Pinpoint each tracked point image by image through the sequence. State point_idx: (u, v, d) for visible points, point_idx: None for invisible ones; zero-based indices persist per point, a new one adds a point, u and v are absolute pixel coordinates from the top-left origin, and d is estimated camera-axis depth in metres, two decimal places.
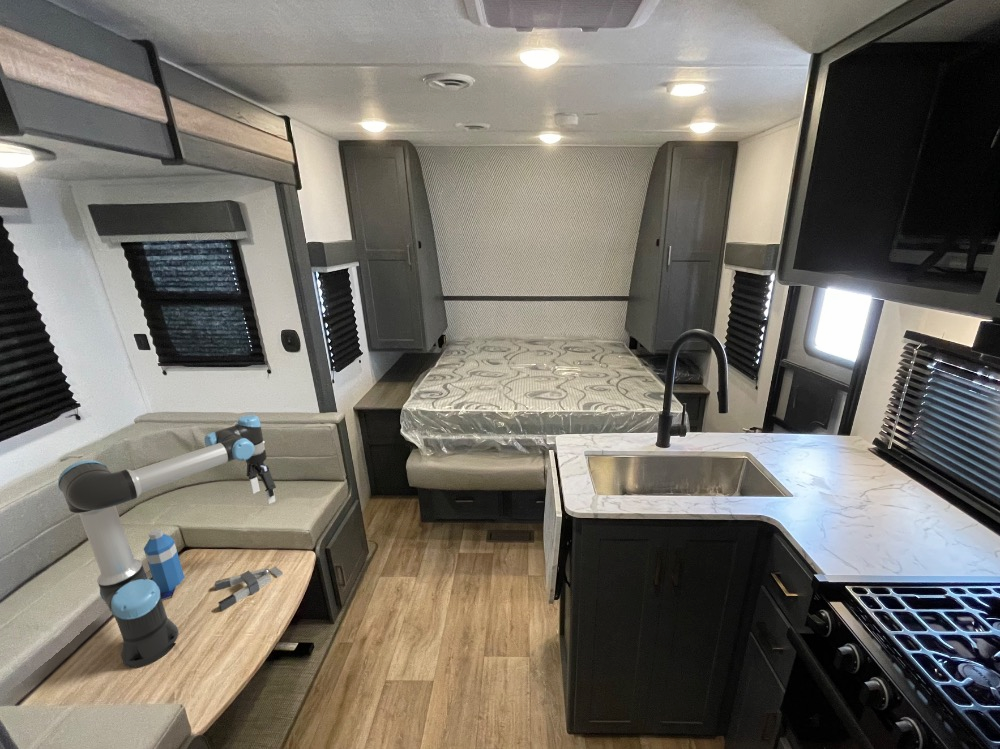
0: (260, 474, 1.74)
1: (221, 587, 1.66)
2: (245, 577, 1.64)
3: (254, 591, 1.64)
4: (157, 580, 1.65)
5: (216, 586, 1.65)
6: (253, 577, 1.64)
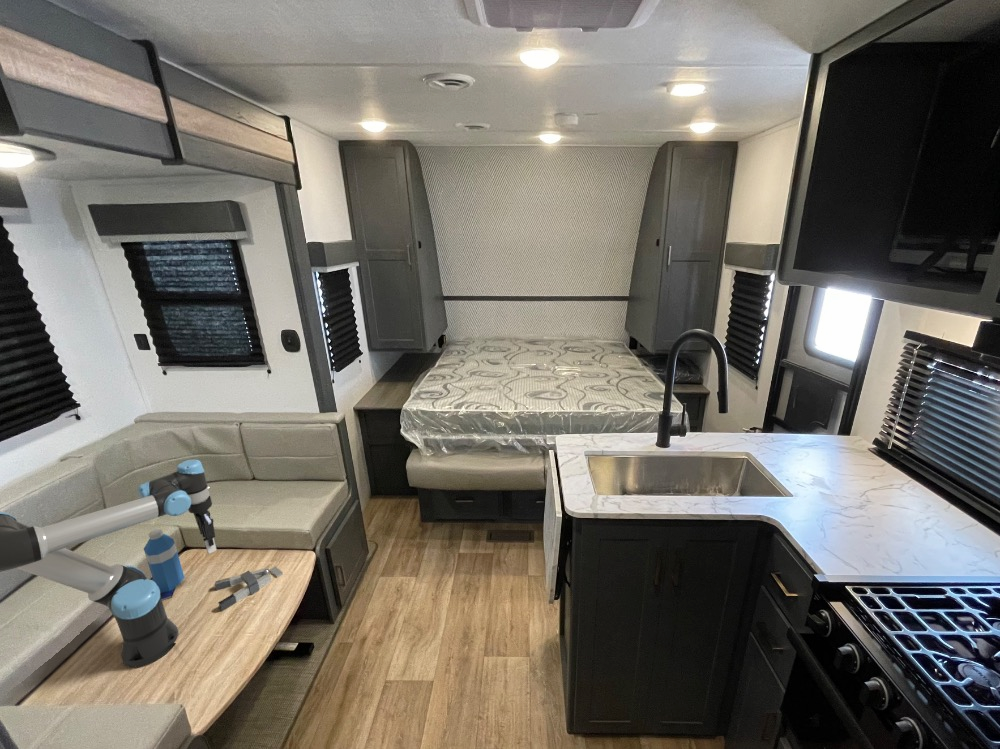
0: (202, 524, 1.62)
1: (221, 587, 1.66)
2: (245, 577, 1.64)
3: (254, 591, 1.64)
4: (157, 580, 1.65)
5: (216, 586, 1.65)
6: (253, 577, 1.64)
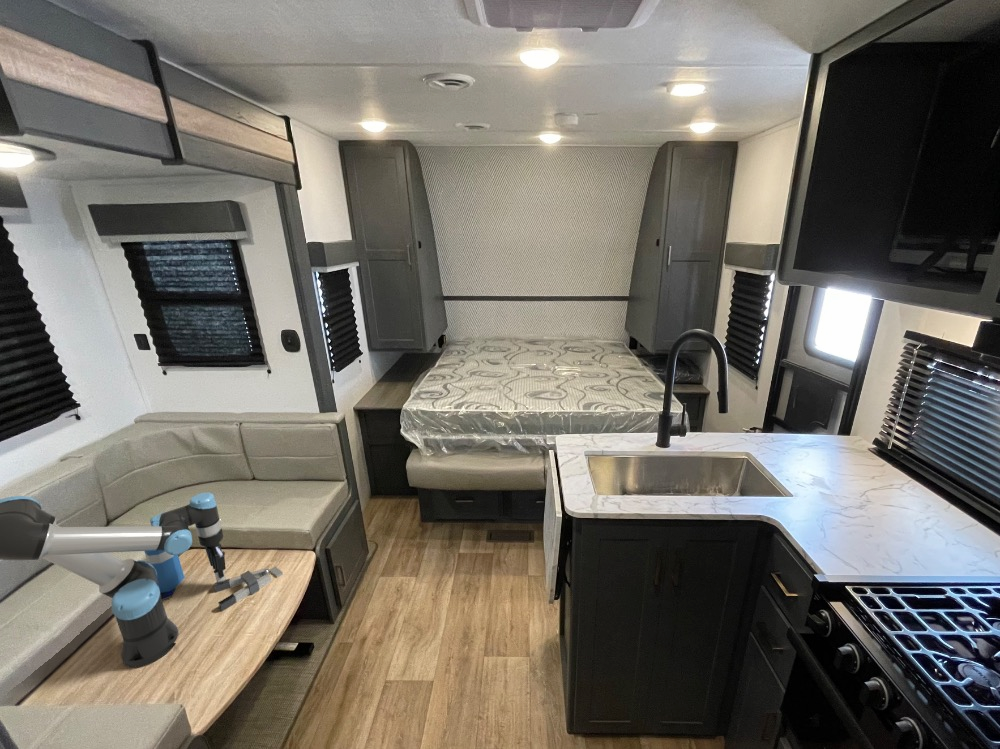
0: (213, 557, 1.62)
1: (220, 589, 1.66)
2: (245, 577, 1.64)
3: (254, 591, 1.64)
4: None
5: (215, 588, 1.64)
6: (253, 577, 1.64)
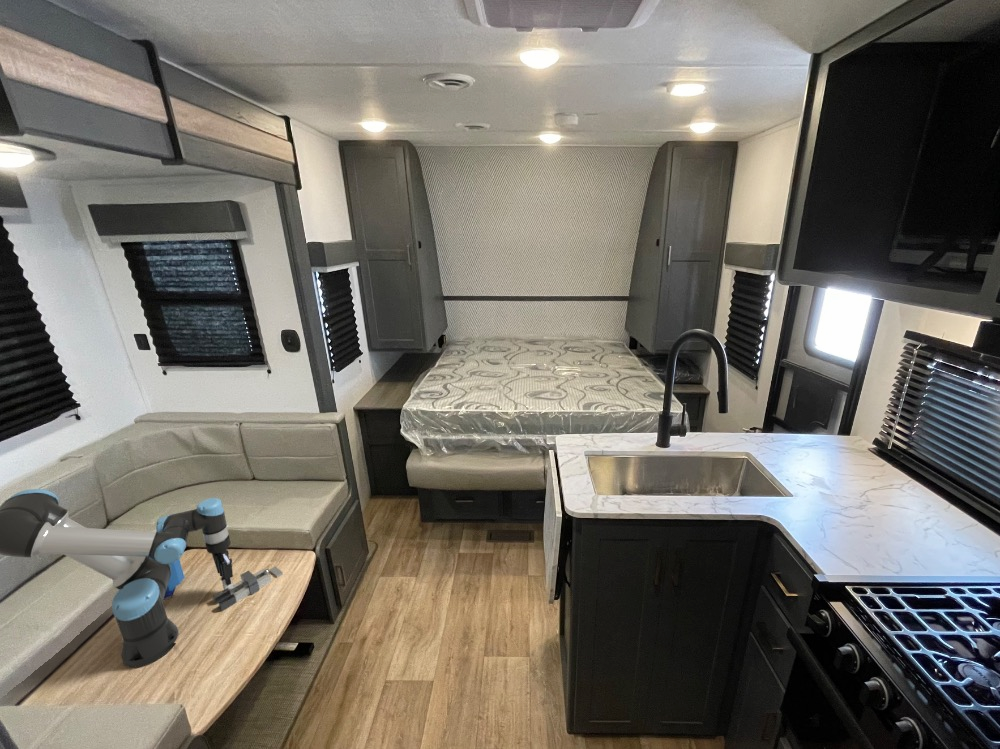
0: (221, 564, 1.59)
1: (221, 600, 1.60)
2: (245, 577, 1.64)
3: (254, 591, 1.64)
4: None
5: (216, 599, 1.59)
6: (253, 577, 1.64)
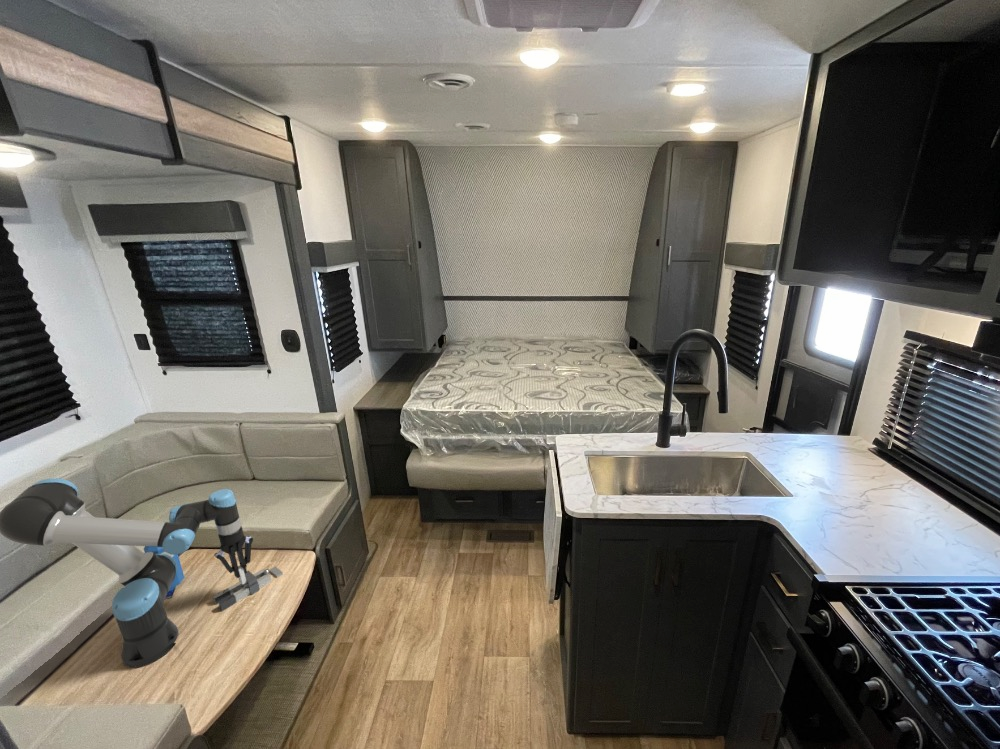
0: None
1: (221, 600, 1.60)
2: (245, 577, 1.64)
3: (254, 591, 1.64)
4: None
5: (216, 599, 1.59)
6: (253, 577, 1.64)
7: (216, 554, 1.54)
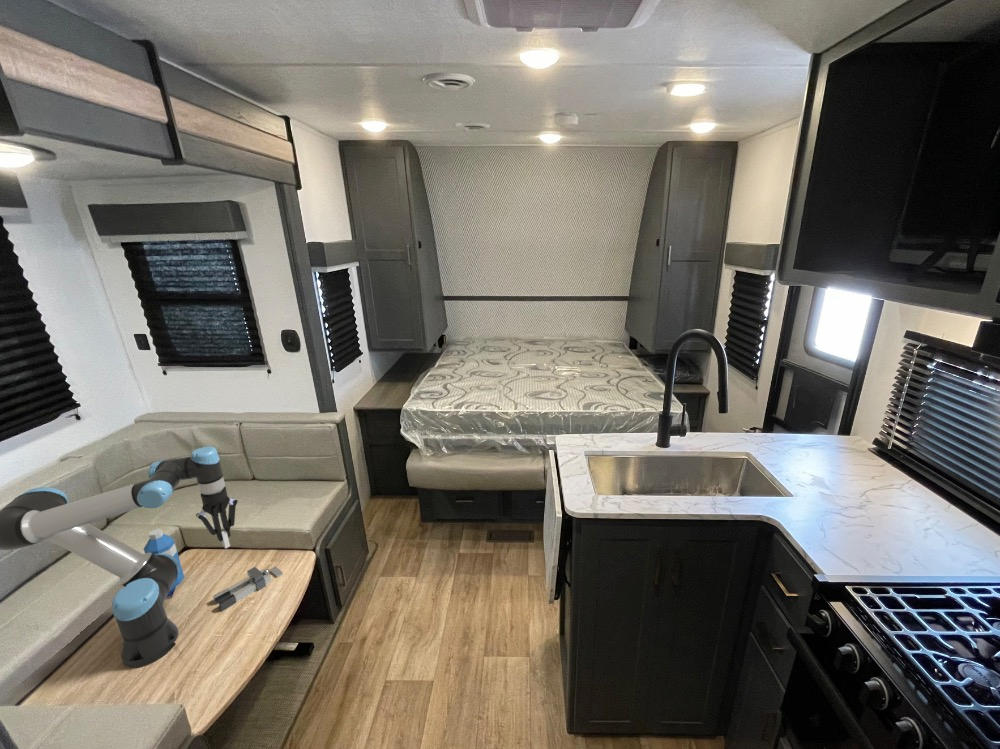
0: None
1: (221, 600, 1.60)
2: (252, 573, 1.66)
3: (261, 587, 1.66)
4: None
5: (216, 599, 1.59)
6: (260, 573, 1.66)
7: (198, 514, 1.47)
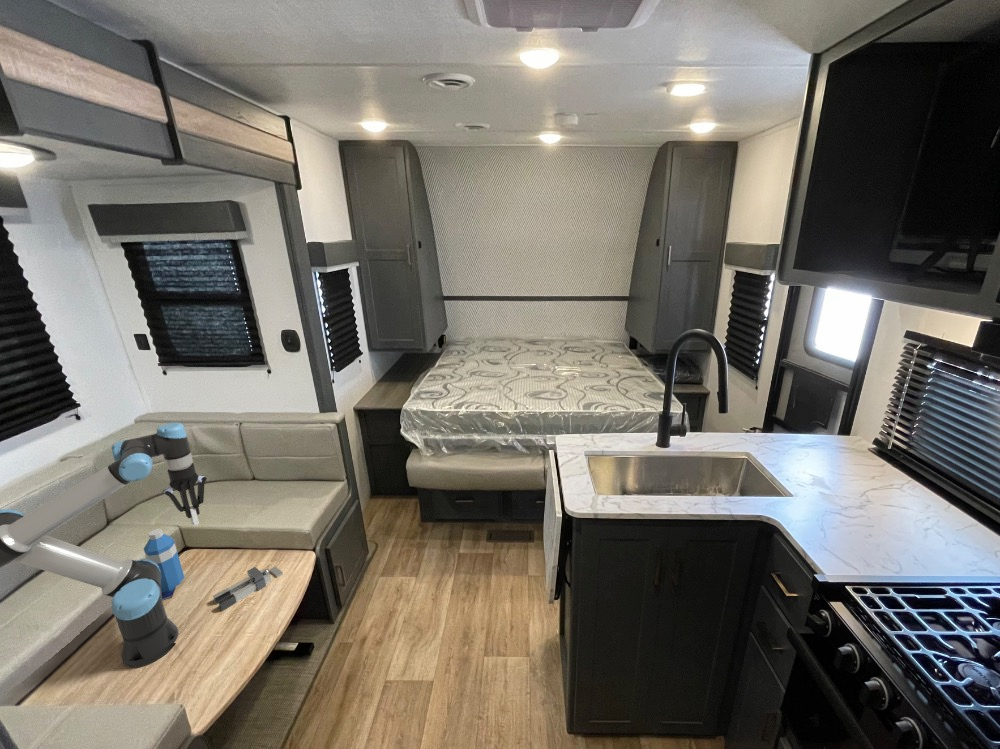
0: None
1: (221, 600, 1.60)
2: (252, 573, 1.66)
3: (261, 587, 1.66)
4: None
5: (216, 599, 1.59)
6: (260, 573, 1.66)
7: (165, 490, 1.47)
